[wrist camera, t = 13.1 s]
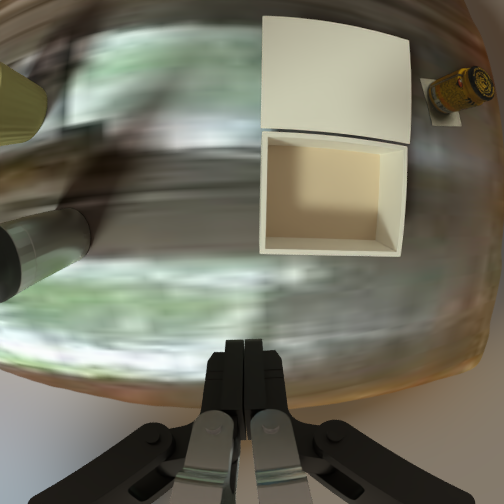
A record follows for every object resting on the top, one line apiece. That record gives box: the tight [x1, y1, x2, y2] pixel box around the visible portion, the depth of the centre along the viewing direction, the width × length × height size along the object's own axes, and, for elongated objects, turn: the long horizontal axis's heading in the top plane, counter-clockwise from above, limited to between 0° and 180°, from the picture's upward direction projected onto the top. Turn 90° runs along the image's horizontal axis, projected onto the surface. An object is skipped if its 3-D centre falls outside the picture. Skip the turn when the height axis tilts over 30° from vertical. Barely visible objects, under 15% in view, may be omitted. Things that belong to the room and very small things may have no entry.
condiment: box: [420, 66, 494, 126], centre depth 29 cm, size 7×8×12 cm
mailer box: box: [259, 131, 407, 257], centre depth 36 cm, size 14×18×8 cm
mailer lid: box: [261, 16, 411, 144], centre depth 27 cm, size 14×18×1 cm
